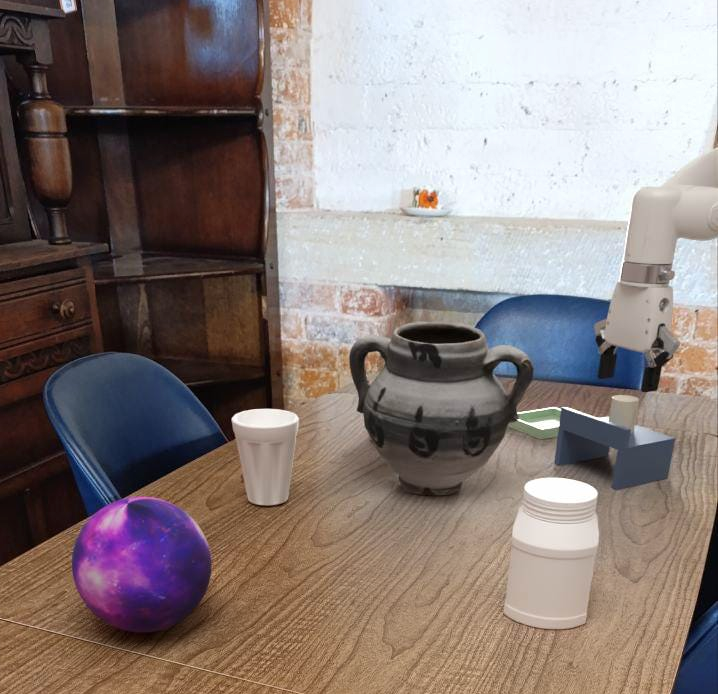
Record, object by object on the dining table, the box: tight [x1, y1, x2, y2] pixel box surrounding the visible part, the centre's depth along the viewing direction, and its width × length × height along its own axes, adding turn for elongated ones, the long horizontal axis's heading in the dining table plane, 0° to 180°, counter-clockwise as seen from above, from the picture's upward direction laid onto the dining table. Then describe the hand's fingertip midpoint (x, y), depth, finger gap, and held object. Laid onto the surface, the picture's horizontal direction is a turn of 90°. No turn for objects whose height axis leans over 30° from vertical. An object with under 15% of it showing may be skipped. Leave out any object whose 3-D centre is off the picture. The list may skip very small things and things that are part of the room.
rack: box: [553, 406, 676, 491], centre depth 149 cm, size 12×15×10 cm
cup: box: [231, 408, 300, 506], centre depth 133 cm, size 10×10×13 cm
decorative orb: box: [71, 496, 212, 633], centre depth 97 cm, size 15×15×15 cm
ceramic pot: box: [349, 321, 535, 496], centre depth 137 cm, size 29×23×25 cm
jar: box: [502, 477, 600, 630], centre depth 103 cm, size 12×10×15 cm
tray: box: [507, 406, 561, 440], centre depth 173 cm, size 13×11×2 cm
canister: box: [608, 394, 640, 434], centre depth 147 cm, size 4×4×6 cm
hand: (626, 384), depth 145 cm, fingers open, 9 cm apart
